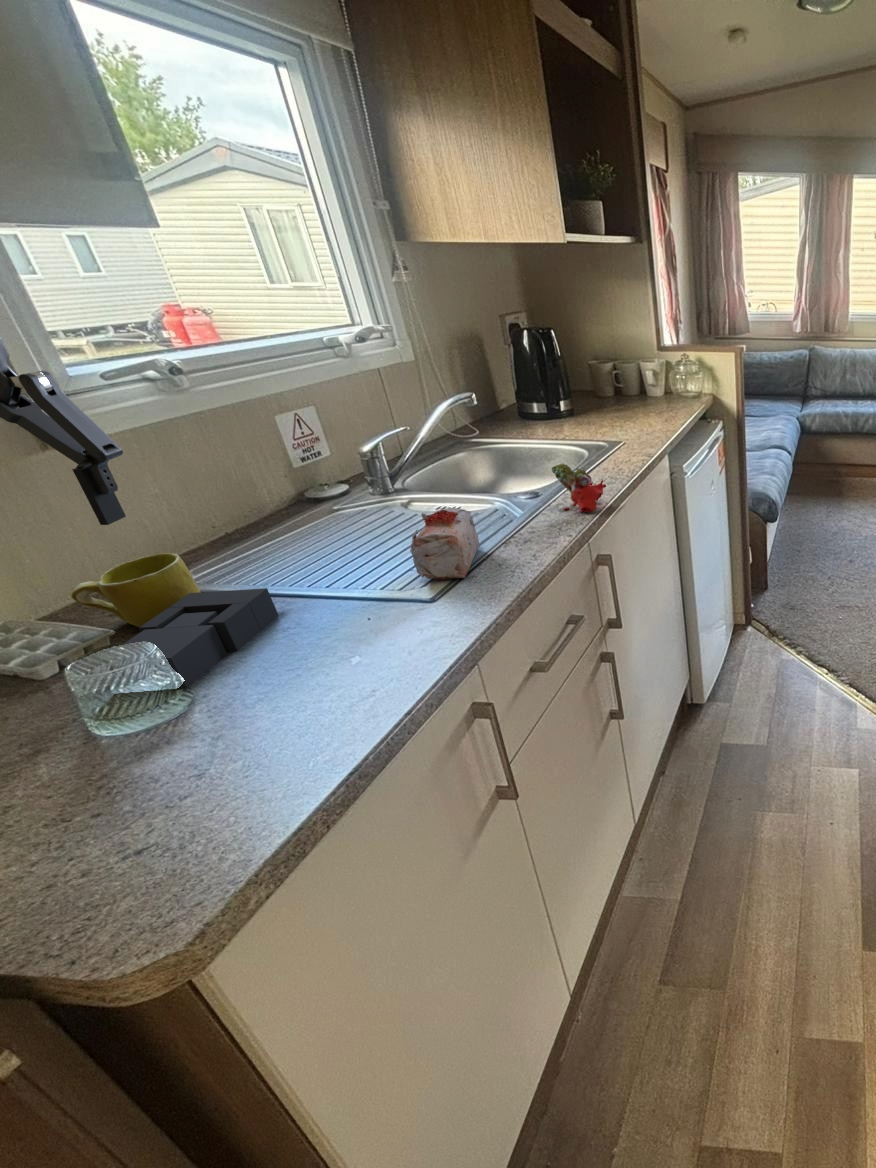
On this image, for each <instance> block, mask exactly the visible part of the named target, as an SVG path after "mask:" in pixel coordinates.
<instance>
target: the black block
mask: <svg viewBox="0 0 876 1168" xmlns="http://www.w3.org/2000/svg"><path fill="white" fill-rule="evenodd" d="M216 616H218V615H217V613H216V612H200V613H185V614H182V615H181V616H179V617H178V618H176V619H175V620H173V621H172V622H171V623H169V624H168V625H166V626H165V627H163V628H162V629H147V630H143V631H142V632H140V631H139V633H138V634H135V636H133V637H131V638H130V639H128V640H127V641H126V642H125V643H123V644H122V645H125V644H129V643H135V642H142V641H147V642H151V643H153V644H155V645H156V646H157V647H158V648H159V649H160V650H161V651H162V652H163V654H164V655H165V657H166V659H167V660H168V662H169V664H170V665H171V667H172V668H173V669H174V670H175V671H176V672H177V673H179V674H180V675H181V676H182V677H183V678H184V680H185V681H184V682H183V684H182V685H181V686H180V687H179V688H177V689H175V690H174V691H178V690H187V689H189V688H190V687H191V686H192V685H194V683H196V682H197V681H198V680H199V679H201V677H202V676H204V675H205V674H207V672H208V671H210V670H211V669H212V668H213V667H215V665H217V664H218V663H219V662H220V661H221V660H222V659H224V657H226V656H227V655H228V652H226V650H225V648H224V646H223V644H222V642H221V640H220V638H219V636H218V634H217V631H216V629H215V627H214V625H208V622H210V621H211V620H212V619H214V618H215V617H216Z"/></svg>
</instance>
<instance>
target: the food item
mask: <svg viewBox="0 0 876 1168" xmlns="http://www.w3.org/2000/svg"><path fill="white" fill-rule="evenodd" d="M471 513H472V512H471V511H469V510H466V509H463V508H454V507H449V508H443V509H437V510H436V511H434V512H433V513H431V514H430V515H429V514H426V513H424V512H422V513H421V518H422V520H423V522H424V524H425V525H424V526H423V527H422V529H421V531H418V528H417V529H416V530H415V531H414V532H413V534H412V536H411V544H410V549H409V552H410V554H411V556H412V562H413V564H414V567H415V569H416V573H417V574H418V575H419V576H420V577H421V578H422V579H423V578H426V579H427V580H430V579H431V580H456V579H465V578H466V577H467V575H468V572H469V570H470V568H471V566H472V563H473V561H474V559H475V556H476V554H477V552H478V549H479V547H480V540H479V536H478V532H477V530H476V526H475V522H474V519H473V516H472V514H471Z"/></svg>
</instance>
